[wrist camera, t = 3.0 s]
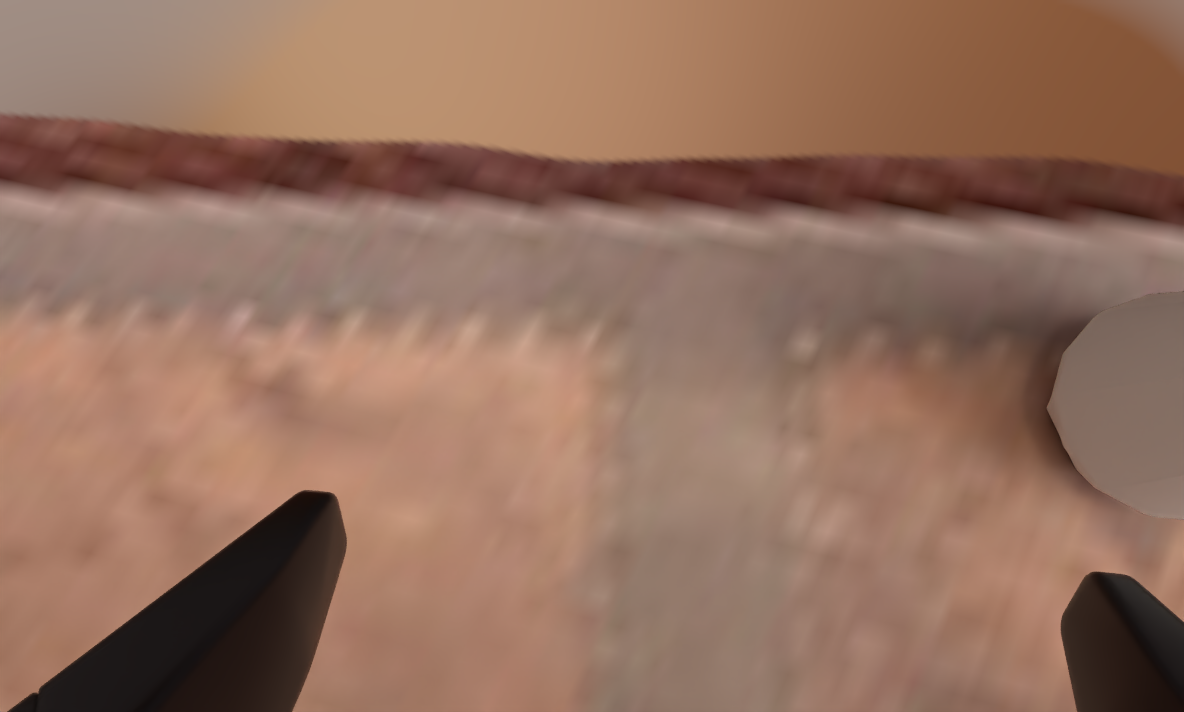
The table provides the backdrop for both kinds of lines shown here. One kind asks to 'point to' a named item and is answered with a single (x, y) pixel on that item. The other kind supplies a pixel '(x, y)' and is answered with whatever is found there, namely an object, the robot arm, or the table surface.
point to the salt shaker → (1127, 403)
